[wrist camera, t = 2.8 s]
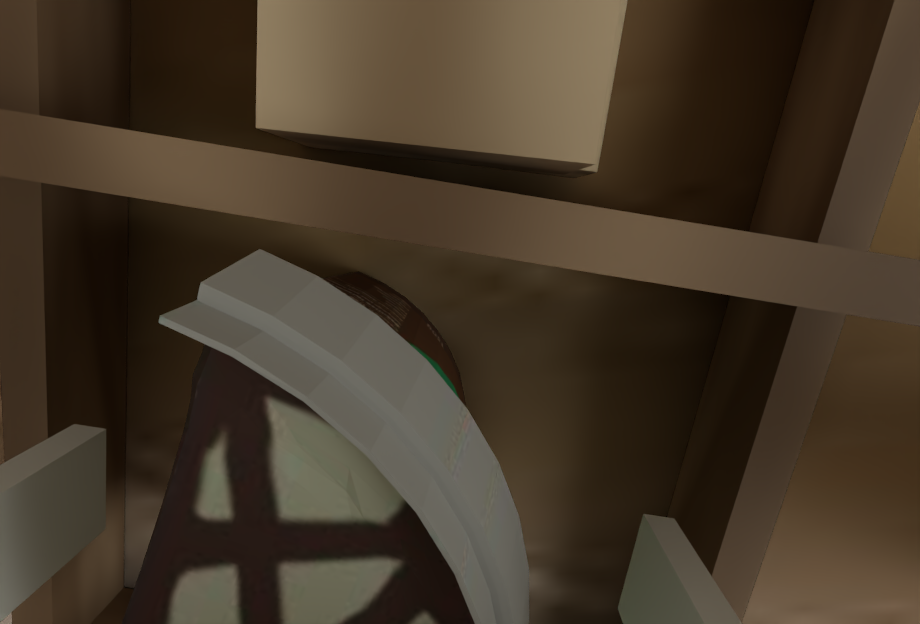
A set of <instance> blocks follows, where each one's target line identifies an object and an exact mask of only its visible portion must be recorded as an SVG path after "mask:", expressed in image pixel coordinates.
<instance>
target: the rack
mask: <svg viewBox="0 0 920 624" xmlns="http://www.w3.org/2000/svg"><path fill="white" fill-rule="evenodd" d="M130 7H131V0H0V375H1V396H2V417H3V438H4V459H5V462H6V461H8V460H10V459H12V458H14V457H15V456H17V455H19V454H21V453H23V452H24V451H26V450H28V449H30V448H32V447H33V446H35V445H37V444H39V443H41V442H43V441H44V440H46V439H48V438H50V437H52V436H53V435H55V434H57V433H59V432H61V431H63V430H64V429H66V428H68V427H70V426H72V425H73V424H78V425H84V426H91V427H97V428H103V429H106V529H105V530H104V531H103V532H101V533H100V534H99V535H98V536H97V537H96V538H95V539H94V540H92V541H91V542H90V543H89V544H88V545H87V546H86V547H85V548H83V549H82V550H81V551H80V552H79V553H78V554H77V555H75V556H74V557H73V558H72V559H71V560H70V561H69V562H68V563H66V564H65V565H64V566H63V567H62V568H61V569H60V570H59V571H57V572H56V573H55V574H54V575H53V576H52V577H51V578H50V579H48V580H47V581H46V582H45V583H44V584H43V585H42V586H40V587H39V588H38V589H37V590H36V591H35V592H34V593H33V594H31V595H30V596H29V597H28V598H27V599H26V600H25V601H24V602H22V603H21V604H20V605H19V606H18V607H17V608H16V609H14V610H13V611H12V624H122V621H123V618H124V615H125V612H126V610H127V607H128V604H129V601H130V599H131V596H132V593H133V590H134V589H129V588H124V520H125V435H126V349H127V264H128V197H132V198H138V199H144V200H150V201H157V202H163V203H169V204H175V205H181V206H187V207H193V208H199V209H205V210H212V211H218V212H224V213H230V214H236V215H242V216H248V217H254V218H260V219H267V220H273V221H279V222H285V223H291V224H297V225H303V226H309V227H315V228H322V229H328V230H334V231H340V232H346V233H352V234H358V235H364V236H370V237H376V238H383V239H389V240H395V241H401V242H407V243H413V244H419V245H425V246H431V247H438V248H444V249H450V250H456V251H462V252H468V253H474V254H480V255H486V256H493V257H499V258H505V259H511V260H517V261H523V262H529V263H535V264H541V265H548V266H554V267H560V268H566V269H572V270H578V271H584V272H590V273H596V274H603V275H609V276H615V277H621V278H627V279H633V280H639V281H645V282H651V283H657V284H664V285H670V286H676V287H682V288H688V289H694V290H700V291H706V292H712V293H719V294H725V295H730V298H729V302H728V305H727V309H726V312H725V316H724V319H723V323H722V326H721V330H720V333H719V337H718V340H717V344H716V347H715V351H714V354H713V358H712V361H711V365H710V368H709V372H708V375H707V379H706V382H705V386H704V389H703V393H702V396H701V400H700V403H699V407H698V410H697V414H696V417H695V421H694V424H693V428H692V431H691V435H690V438H689V442H688V445H687V449H686V452H685V456H684V459H683V463H682V466H681V470H680V473H679V477H678V480H677V484H676V487H675V491H674V494H673V498H672V501H671V505H670V508H669V512H668V515H667V517H668V518H674V519H675V520H676V522H677V524H678V525H679V527H680V528H681V530H682V531H683V533H684V534H685V536H686V537H687V539H688V541H689V542H690V544H691V545H692V547H693V548H694V550H695V551H696V553H697V554H698V556H699V558H700V559H701V561H702V562H703V564H704V565H705V567H706V568H707V570H708V572H709V573H710V575H711V576H712V578H713V579H714V581H715V582H716V584H717V585H718V587H719V589H720V590H721V592H722V593H723V595H724V596H725V598H726V599H727V601H728V602H729V604H730V606H731V607H732V609H733V610H734V612H735V613H736V615H737V616H738V618H739V620H740V621H741V623H742V620H743V617H744V614H745V611H746V608H747V605H748V602H749V599H750V596H751V594H752V591H753V588H754V585H755V582H756V579H757V576H758V573H759V570H760V567H761V564H762V561H763V558H764V555H765V553H766V550H767V547H768V544H769V541H770V538H771V535H772V532H773V529H774V526H775V523H776V520H777V517H778V514H779V512H780V509H781V506H782V503H783V500H784V497H785V494H786V491H787V488H788V485H789V482H790V479H791V476H792V473H793V471H794V468H795V465H796V462H797V459H798V456H799V453H800V450H801V447H802V444H803V441H804V438H805V435H806V432H807V430H808V427H809V424H810V421H811V418H812V415H813V412H814V409H815V406H816V403H817V400H818V397H819V394H820V392H821V389H822V386H823V383H824V380H825V377H826V374H827V371H828V368H829V365H830V362H831V359H832V356H833V353H834V351H835V348H836V345H837V342H838V339H839V336H840V333H841V330H842V327H843V324H844V321H845V318H846V315H853V316H859V317H865V318H871V319H877V320H883V321H890V322H896V323H902V324H908V325H914V326H920V260H917V259H911V258H905V257H899V256H893V255H887V254H881V253H874V252H868V251H869V248H870V245H871V242H872V239H873V236H874V233H875V230H876V228H877V225H878V222H879V219H880V216H881V213H882V210H883V207H884V204H885V201H886V198H887V195H888V192H889V189H890V187H891V184H892V181H893V178H894V175H895V172H896V169H897V166H898V163H899V160H900V157H901V154H902V151H903V148H904V146H905V143H906V140H907V137H908V134H909V131H910V128H911V125H912V122H913V119H914V116H915V113H916V110H917V107H918V105H919V102H920V0H815V1H814V4H813V8H812V11H811V15H810V18H809V22H808V25H807V29H806V32H805V36H804V39H803V43H802V46H801V50H800V53H799V57H798V60H797V64H796V67H795V71H794V74H793V78H792V81H791V85H790V88H789V92H788V95H787V99H786V102H785V106H784V109H783V113H782V116H781V120H780V123H779V127H778V130H777V134H776V137H775V141H774V144H773V148H772V151H771V155H770V158H769V162H768V165H767V169H766V172H765V176H764V179H763V183H762V186H761V190H760V193H759V197H758V200H757V204H756V207H755V211H754V214H753V218H752V221H751V225H750V228H749V232H747V231H741V230H734V229H728V228H722V227H716V226H710V225H704V224H698V223H692V222H686V221H680V220H674V219H667V218H661V217H655V216H649V215H643V214H637V213H631V212H625V211H619V210H613V209H607V208H601V207H594V206H588V205H582V204H576V203H570V202H564V201H558V200H552V199H546V198H540V197H534V196H527V195H521V194H515V193H509V192H503V191H497V190H491V189H485V188H479V187H473V186H467V185H460V184H454V183H448V182H442V181H436V180H430V179H424V178H418V177H412V176H406V175H400V174H394V173H387V172H381V171H375V170H369V169H363V168H357V167H351V166H345V165H339V164H333V163H327V162H320V161H314V160H308V159H302V158H296V157H290V156H284V155H278V154H272V153H266V152H260V151H253V150H247V149H241V148H235V147H229V146H223V145H217V144H211V143H205V142H199V141H193V140H187V139H180V138H174V137H168V136H162V135H156V134H150V133H144V132H138V131H132V130H129V93H130Z"/></svg>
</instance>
